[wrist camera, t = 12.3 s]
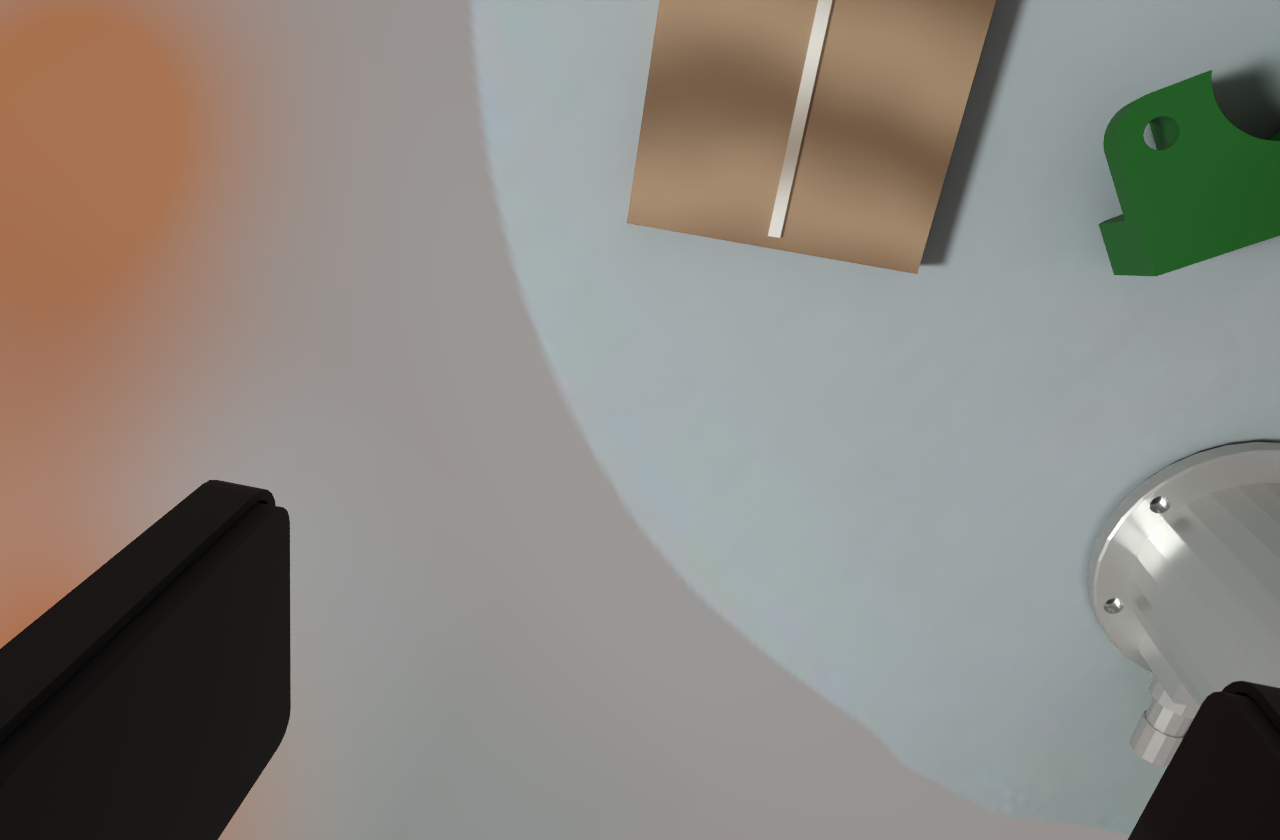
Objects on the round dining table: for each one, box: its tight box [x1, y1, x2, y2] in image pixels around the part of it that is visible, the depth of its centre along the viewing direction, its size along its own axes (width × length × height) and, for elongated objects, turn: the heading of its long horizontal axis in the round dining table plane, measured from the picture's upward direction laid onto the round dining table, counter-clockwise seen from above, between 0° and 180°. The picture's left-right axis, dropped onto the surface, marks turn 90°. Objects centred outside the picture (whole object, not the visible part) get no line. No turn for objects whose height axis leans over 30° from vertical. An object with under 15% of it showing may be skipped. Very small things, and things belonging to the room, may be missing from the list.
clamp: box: [1099, 70, 1280, 276], centre depth 31 cm, size 12×6×9 cm, turn 106°
